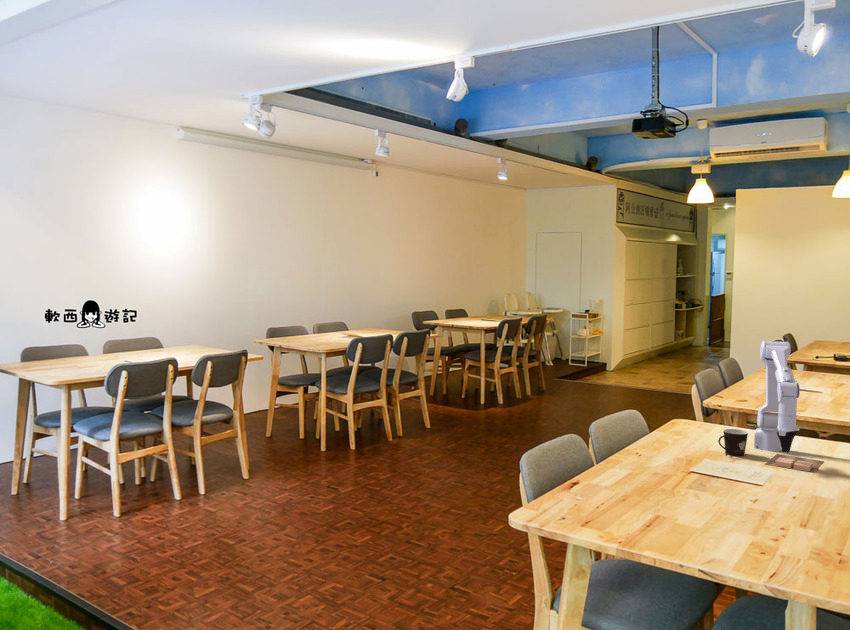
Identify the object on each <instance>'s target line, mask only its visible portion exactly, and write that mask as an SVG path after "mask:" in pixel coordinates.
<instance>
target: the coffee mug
mask: <svg viewBox="0 0 850 630" xmlns="http://www.w3.org/2000/svg"><path fill="white" fill-rule="evenodd" d="M748 435H749V432H748V431H746V430H742V429H737V428H726V429H723V435H721V436H720V437H718V441H717V442H718V444H719V446H720V447H721V448H722V449H724V453H725V457H727V456H731V457H737V458H738V457H744V456H745V453H746V447H747V440H748ZM721 439H723V441H724V446H723V445H722V443H721Z"/></svg>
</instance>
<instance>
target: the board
mask: <svg viewBox="0 0 850 630" xmlns="http://www.w3.org/2000/svg"><path fill="white" fill-rule="evenodd" d="M779 457H781V458H787V459H793V460H795V462H797V461H798V460H799V461H805V462H811V463H813V468H812V469H811V470H810V471H803V470H797V469H794V465H793V466H792V467H791V468H785V467H780V466H776V465H775V461H776V460H777V459H778V458H779ZM824 462H825V460H818V459H812V458H805V457H801V456H800V457H799V456H794V455H793V456H792V455H786V454H780V453H775V455H774V456H772V457H771V458H770V459H769V460H768V461H767V462H765V463H764V464H763V465H764V466H770V467H771V466H772V467H776V468H781V469H787V470H794V471H798V472H799V471H800V472H806V473H811V474H815V472H817V470H819V468H820V467H821V466H822V465H823V464H824Z"/></svg>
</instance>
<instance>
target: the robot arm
mask: <svg viewBox="0 0 850 630" xmlns="http://www.w3.org/2000/svg"><path fill="white" fill-rule="evenodd" d="M791 349H792V348H791V344H790V342H789V341H765V340H762V341H761V343H760V348H759V358H760V362H762V363H764V365H765V404H764V405H762V406H761V407H759V408H758V410H757V417H756V423H757V428H756V429H755V431H754V436H753V437H754V438H753V442H754V443H753V448H754V449H755V450H762V451H765V452H766V451H767V452H772V453H773V452H775V453H778V452H783V453H790V452H791V448H792V444H793V442H794V439H795V437H796V435H797V432H796V431H800V429H801V428H799V427H797V409H798V408H797V407H798V405H797V404H798V399H799V397H800V392H801V390H800V389H801V388H800V383H799V382H798V381H797V380H795V377H794V374H793V370H792V369H791V368H790V367H789V366H788V361H787V360H788V359H789V357H790V355H791Z"/></svg>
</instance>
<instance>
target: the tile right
mask: <svg viewBox="0 0 850 630" xmlns="http://www.w3.org/2000/svg"><path fill="white" fill-rule="evenodd" d="M812 468H813V463H811V462H805V461H799V460H798V461H797V462H795V463H794V469H797V470H796V471H798V470H803V471H802V472H804V471H810V470H811V469H812Z"/></svg>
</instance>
